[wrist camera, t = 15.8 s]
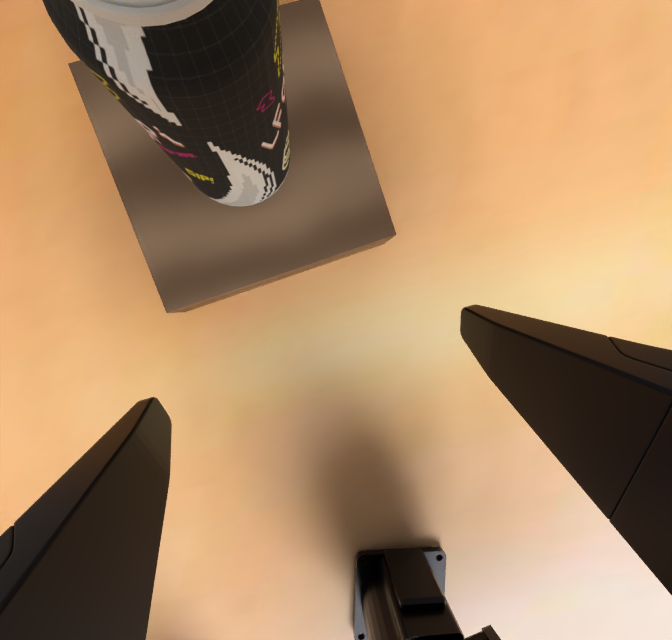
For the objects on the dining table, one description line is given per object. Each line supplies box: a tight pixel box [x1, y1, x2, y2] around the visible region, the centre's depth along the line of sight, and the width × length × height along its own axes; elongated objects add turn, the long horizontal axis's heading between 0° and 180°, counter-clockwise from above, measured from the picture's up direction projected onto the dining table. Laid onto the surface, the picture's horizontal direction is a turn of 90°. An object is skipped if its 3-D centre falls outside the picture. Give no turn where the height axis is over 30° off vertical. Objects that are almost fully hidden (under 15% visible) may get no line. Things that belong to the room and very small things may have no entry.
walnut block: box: [68, 0, 396, 313], centre depth 20 cm, size 14×14×3 cm
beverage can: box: [43, 0, 291, 207], centre depth 12 cm, size 6×6×12 cm
